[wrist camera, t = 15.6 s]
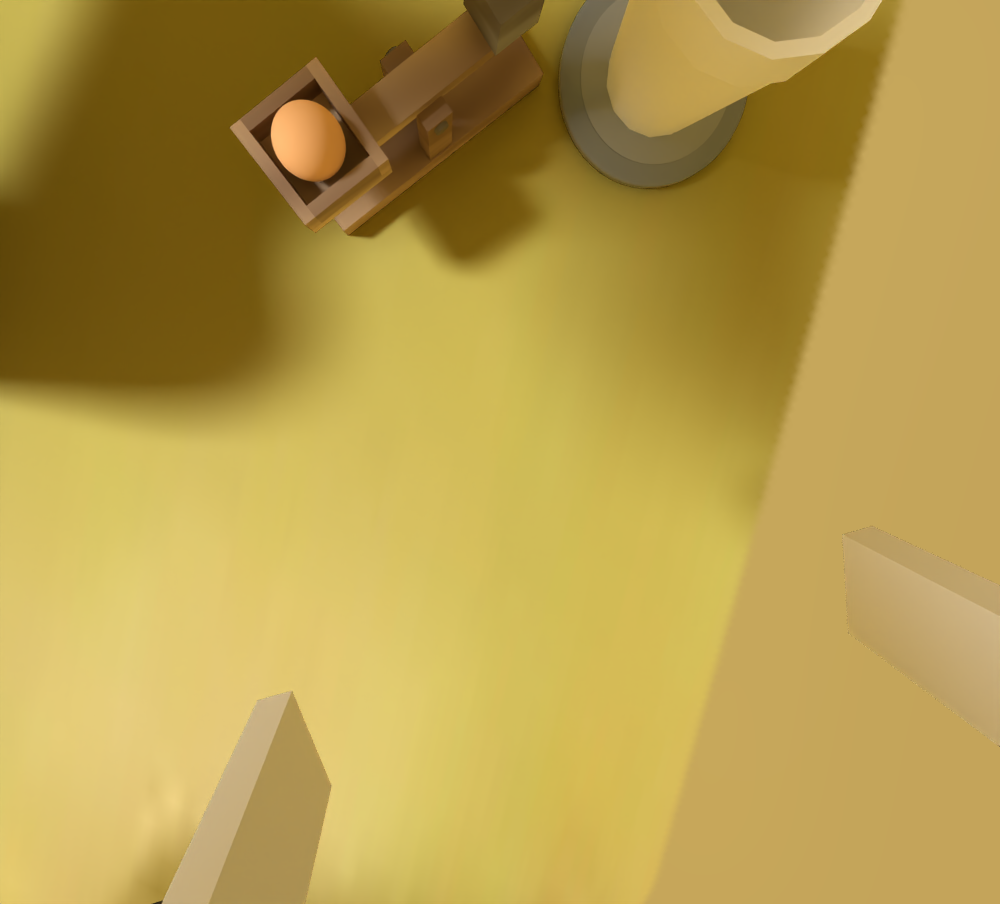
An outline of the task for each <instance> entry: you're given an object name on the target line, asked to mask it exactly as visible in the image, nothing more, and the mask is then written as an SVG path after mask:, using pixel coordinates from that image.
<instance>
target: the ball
mask: <svg viewBox="0 0 1000 904" xmlns="http://www.w3.org/2000/svg"><path fill="white" fill-rule="evenodd" d="M271 140H272V145H273V148H274V151H275V153H276V155H277V157H278V159H279V160H280V162H281V163H282V165H283V166H284V167H285V168H286V169H287V170H288V171H289V172H291V173H292V174H293V175H295V176H297V177H298V178H301V179H303V180H307V181H312V182H319V181H324V180H327V179H329V178H331V177H332V176H334V175H335V174H336V173H337V172H338V171H339V169H340V168H341V166H342V164H343V162H344V158H345V153H346V143H345V137H344V134H343V131H342V128H341V126H340V124H339V123H338V121H337V120H336V118H335V117H334V116H333V114H332V113H331V112H330V111H329V110H327V109H326V108H325V107H323V106H322V105H320V104H318V103H316V102H313V101H310V100H294V101H291V102H288V103H286V104H285V105H284V106H282V107H281V108H280V109H279V110H278V112H277V113H276V115H275V117H274V119H273V122H272V127H271Z"/></svg>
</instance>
